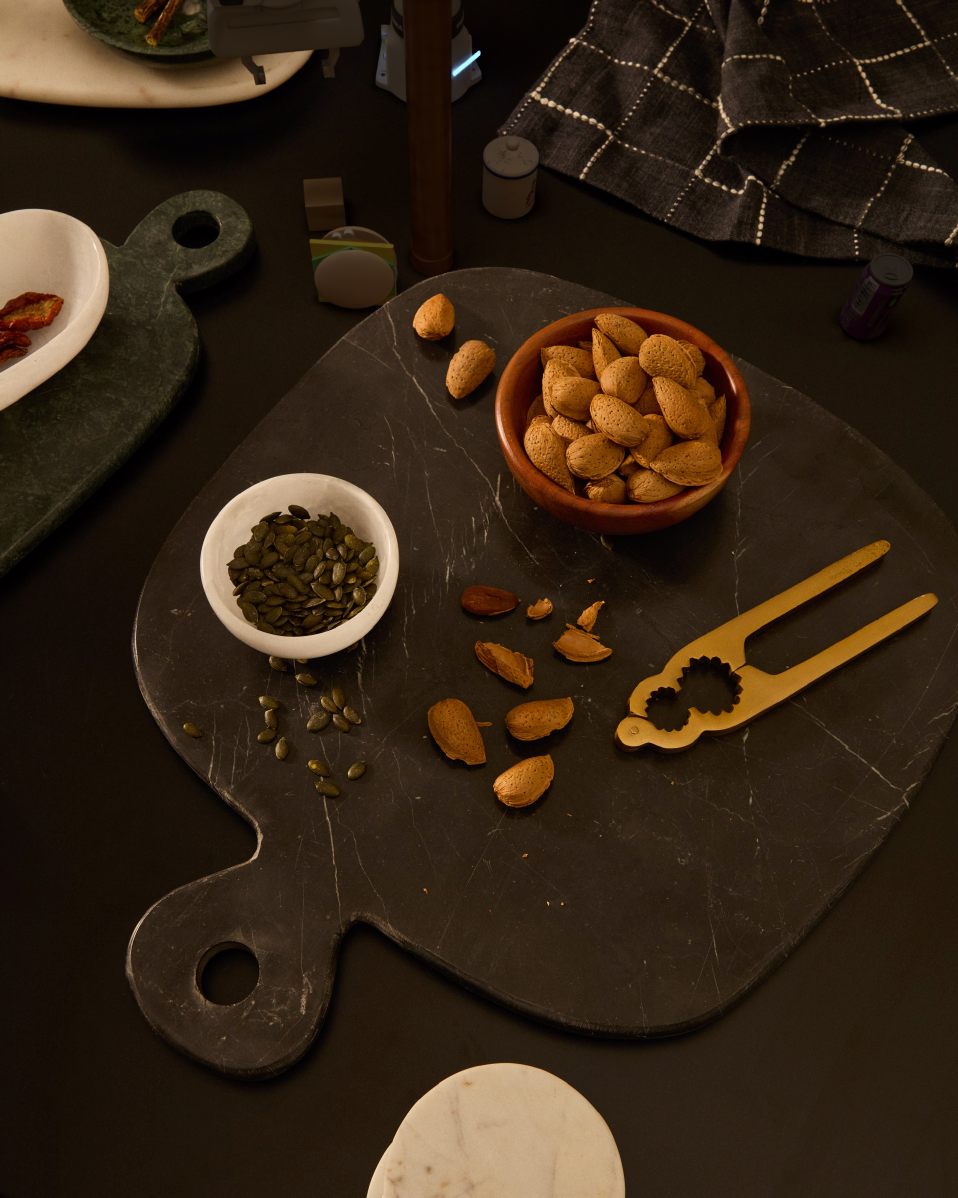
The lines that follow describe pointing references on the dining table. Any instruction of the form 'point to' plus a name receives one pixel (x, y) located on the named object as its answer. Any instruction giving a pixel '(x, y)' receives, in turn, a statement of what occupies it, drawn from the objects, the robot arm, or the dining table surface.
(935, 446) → the dining table surface
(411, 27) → the pepper mill
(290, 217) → the dining table surface
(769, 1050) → the dining table surface
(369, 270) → the hamburger
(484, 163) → the teacup with lid
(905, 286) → the beverage can
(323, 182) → the maple block
